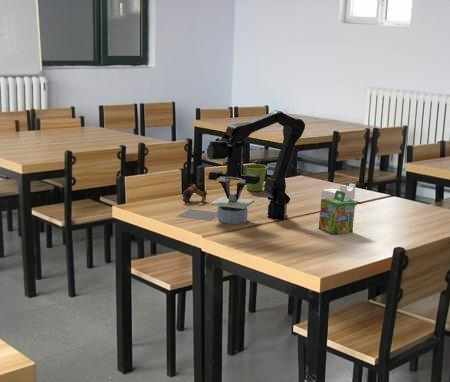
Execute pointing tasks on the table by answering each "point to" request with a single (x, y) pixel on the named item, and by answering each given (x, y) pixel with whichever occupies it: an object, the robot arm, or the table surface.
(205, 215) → the mat
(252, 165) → the plant pot
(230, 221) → the bowl
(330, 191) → the bracket
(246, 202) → the lid
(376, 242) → the table surface
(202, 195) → the brown arch
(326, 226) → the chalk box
